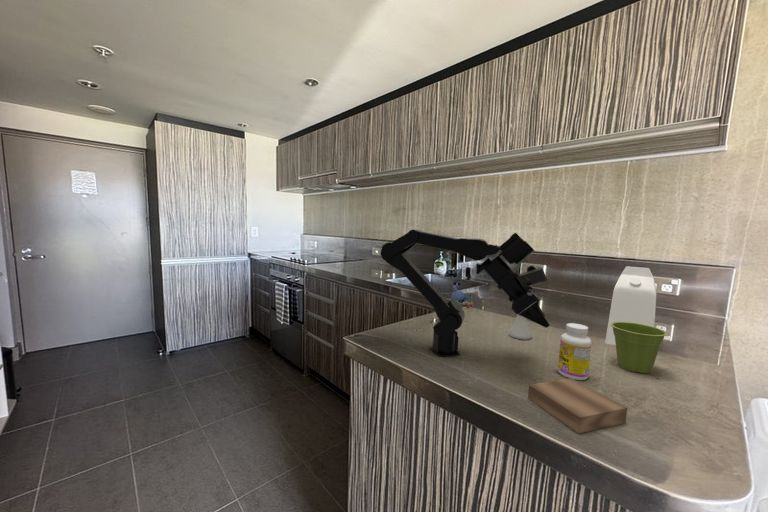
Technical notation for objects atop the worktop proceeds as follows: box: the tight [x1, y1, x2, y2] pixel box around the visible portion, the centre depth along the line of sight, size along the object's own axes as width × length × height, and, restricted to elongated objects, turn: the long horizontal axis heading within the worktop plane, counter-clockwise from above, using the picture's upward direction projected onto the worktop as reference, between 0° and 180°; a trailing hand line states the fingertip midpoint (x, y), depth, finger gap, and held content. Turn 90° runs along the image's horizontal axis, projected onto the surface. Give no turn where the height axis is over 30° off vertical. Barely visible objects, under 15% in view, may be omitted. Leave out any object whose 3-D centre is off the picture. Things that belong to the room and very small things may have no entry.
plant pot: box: [611, 322, 668, 374], centre depth 83 cm, size 12×12×11 cm
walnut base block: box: [527, 378, 628, 434], centre depth 62 cm, size 12×12×3 cm
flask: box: [508, 314, 533, 341], centre depth 106 cm, size 7×7×10 cm
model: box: [450, 284, 475, 307], centre depth 149 cm, size 12×9×9 cm
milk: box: [604, 265, 657, 346], centre depth 102 cm, size 12×12×26 cm
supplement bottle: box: [557, 322, 593, 381], centre depth 77 cm, size 7×7×13 cm
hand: (545, 321), depth 79 cm, fingers open, 9 cm apart
